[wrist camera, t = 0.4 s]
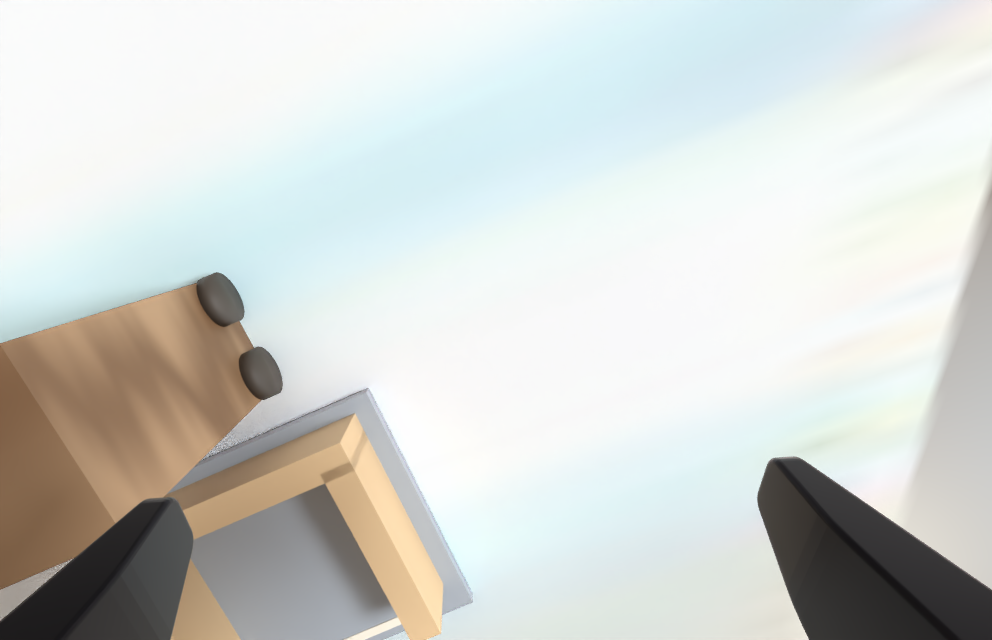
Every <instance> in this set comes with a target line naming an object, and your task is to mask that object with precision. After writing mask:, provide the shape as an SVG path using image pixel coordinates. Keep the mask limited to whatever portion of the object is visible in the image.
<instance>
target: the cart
mask: <svg viewBox="0 0 992 640" xmlns="http://www.w3.org/2000/svg"><path fill="white" fill-rule="evenodd" d="M243 317H244V306H243V303H242V300H241V297H240V295H239V293H238V291H237V290H236V288H235V286H234V285H233V284H232V283H231V281H230V280H229V279H228V278H227V277H226V276H224V275H223V274H221V273H217V272H216V273H213V274H211V275H209V276H207V277H204V278H202V279H200V280H199V281H198V282H197V283H195V284H192V285H189V286H186V287H182V288H179V289H176V290H173V291H169V292H166V293H163V294H160V295H156V296H153V297H150V298H147V299H143V300H140V301H137V302H134V303H130V304H127V305H124V306H121V307H117V308H114V309H111V310H108V311H104V312H101V313H98V314H95V315H91V316H88V317H85V318H82V319H78V320H75V321H72V322H69V323H65V324H62V325H59V326H56V327H52V328H49V329H46V330H43V331H39V332H36V333H33V334H30V335H26V336H23V337H20V338H17V339H13V340H10V341H7V342H4V343H0V590H1V589H3V588H5V587H8V586H10V585H12V584H15V583H17V582H19V581H21V580H24V579H26V578H28V577H31V576H33V575H35V574H38V573H40V572H42V571H45V570H47V569H49V568H52V567H54V566H56V565H59V564H61V563H63V562H66V561H68V560H70V559H72V558H75V557H76V556H77V555H79V554H80V553H81V552H82V551H83V550H85V549H86V548H87V547H88V546H89V545H90V544H92V543H93V542H94V541H95V540H96V539H98V538H99V537H100V536H101V535H102V534H103V533H105V532H106V531H107V530H108V529H109V528H110V527H112V526H113V525H114V524H115V523H116V522H118V521H119V520H120V519H121V518H122V517H123V516H125V515H126V514H127V513H128V512H129V511H130V510H132V509H133V508H134V507H135V506H136V505H138V504H139V503H140V502H142V501H143V500H145V499H149V498H162V497H164V496H165V495H166V494H167V493H168V492H169V491H170V490H171V489H172V488H173V487H174V486H175V485H176V484H177V483H178V482H179V481H180V480H181V479H182V478H183V477H184V476H185V475H186V474H187V473H188V472H189V471H190V470H191V469H192V468H193V467H194V466H195V465H196V464H197V463H198V462H199V461H200V460H201V459H202V458H203V457H204V456H205V455H206V454H208V453H209V452H210V451H211V450H212V449H213V448H214V447H215V446H216V445H217V444H218V443H219V442H220V441H221V440H222V439H223V438H224V437H225V436H226V435H227V434H228V433H229V432H230V431H231V430H232V429H233V428H234V427H235V426H236V425H237V424H238V423H239V422H240V421H241V420H242V419H243V418H244V417H245V416H246V415H247V414H248V413H249V412H250V411H251V410H252V409H253V408H254V407H255V406H256V405H257V404H258V403H259V402H260V401H261V400H265V399H267V398H270V397H272V396H274V395H276V394H279V393H280V392H281V391H282V386H283V383H282V377H281V373H280V370H279V368H278V366H277V364H276V362H275V360H274V359H273V357H272V356H271V355H270V353H269V352H268V351H266V350H265V349H264V348H262V347H256V348H254V347H253V345H252V344H251V342H250V340H249V338H248V336H247V334H246V333H245V331H244V329H243V327H242V325H241V323H240V320H242V319H243Z"/></svg>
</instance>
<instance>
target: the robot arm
mask: <svg viewBox="0 0 992 640" xmlns="http://www.w3.org/2000/svg"><path fill="white" fill-rule="evenodd" d="M757 500H758V507H759V510H760V513H761V516H762V519H763V522H764V525H765V528H766V530H767V533H768V536H769V539H770V542H771V545H772V548H773V550H774V553H775V556H776V559H777V562H778V565H779V567H780V570H781V573H782V576H783V579H784V582H785V585H786V587H787V590H788V593H789V595H790V598H791V601H792V603H793V606H794V608H795V610H796V612H797V615H798V617H799V619H800V621H801V623H802V626H803V628H804V630H805V632H806V634H807V636H808V638H809V640H992V590H991V589H990V588H988V587H987V586H986V585H984V584H983V583H981V582H980V581H978V580H977V579H975V578H974V577H972V576H971V575H970V574H968V573H967V572H965V571H964V570H962V569H961V568H959V567H958V566H957V565H955V564H953V563H952V562H951V561H949V560H948V559H946V558H945V557H943V556H942V555H941V554H939V553H938V552H936V551H935V550H933V549H932V548H930V547H929V546H928V545H926V544H925V543H923V542H922V541H920V540H919V539H917V538H916V537H914V536H913V535H912V534H910V533H909V532H907V531H906V530H904V529H903V528H901V527H900V526H899V525H897V524H896V523H894V522H893V521H891V520H890V519H888V518H887V517H885V516H884V515H883V514H881V513H880V512H878V511H877V510H875V509H874V508H872V507H871V506H869V505H868V504H867V503H865V502H864V501H862V500H861V499H859V498H858V497H856V496H855V495H854V494H852V493H851V492H849V491H848V490H846V489H845V488H843V487H842V486H840V485H839V484H838V483H836V482H835V481H833V480H832V479H830V478H829V477H827V476H826V475H825V474H823V473H822V472H820V471H819V470H817V469H816V468H814V467H813V466H811V465H810V464H809V463H807V462H806V461H804V460H802V459H801V458H798V457H779V458H772V459H771V460H770V461H769V462H768V464H767V467H766V470H765V473H764V476H763V479H762V482H761V485H760V488H759V491H758V497H757ZM193 542H194V539H193V532H192V529H191V527H190V525H189V523H188V521H187V519H186V516H185V514H184V512H183V510H182V508H181V506H180V504H179V502H178V500H176V499H175V498H173V497H162V498H149V499H145V500H143V501H142V502H140V503H139V504H138V505H136V506H135V507H134V508H133V509H132V510H130V511H129V512H128V513H127V514H126V515H125V516H123V517H122V518H121V519H120V520H119V521H118V522H116V523H115V524H114V525H113V526H112V527H110V528H109V529H108V530H107V531H106V532H105V533H103V534H102V535H101V536H100V537H99V538H98V539H96V540H95V541H94V542H93V543H92V544H90V545H89V546H88V547H87V548H86V549H85V550H83V551H82V552H81V553H80V554H79V555H77V556H76V557H75V558H74V559H73V560H72V561H70V562H69V563H68V564H67V565H66V566H65V567H63V568H62V569H61V570H60V571H59V572H57V573H56V574H55V575H54V576H53V577H52V578H50V579H49V580H48V581H47V582H46V583H45V584H43V585H42V586H41V587H40V588H39V589H37V590H36V591H35V592H34V593H33V594H32V595H30V596H29V597H28V598H27V599H26V600H25V601H23V602H22V603H21V604H20V605H19V606H17V607H16V608H15V609H14V610H13V611H12V612H10V613H9V614H8V615H7V616H6V617H4V618H3V619H2V620H1V621H0V640H171V636H172V632H173V628H174V624H175V620H176V616H177V612H178V608H179V603H180V599H181V595H182V591H183V587H184V583H185V579H186V574H187V570H188V566H189V562H190V558H191V554H192V549H193Z"/></svg>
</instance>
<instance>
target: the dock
mask: <svg viewBox="0 0 992 640" xmlns="http://www.w3.org/2000/svg"><path fill="white" fill-rule="evenodd" d="M164 497H173V498H175V499H176V500H178V502H179V504H180V506H181V508H182V510H183V512H184V514H185V516H186V519H187V521H188V523H189V525H190V527H191V529H192V532H193V539H194V542H193V549H192V554H191V558H190V562H189V566H188V570H187V574H186V579H185V583H184V587H183V591H182V595H181V599H180V603H179V608H178V612H177V616H176V620H175V624H174V628H173V632H172V636H171V640H384V639H386V638H388V637H391V636H393V635H396V634H398V633H400V632H403V631H406V633H407V635H408V637H409V639H410V640H426V639H429V638H431V637H434V636H436V635H438V634H441V622H442V615H443V614H446V613H448V612H450V611H453V610H455V609H457V608H460V607H462V606H465V605H467V604H469V603H472V602H473V598H472V592H471V590H470V588H469V586H468V584H467V582H466V580H465V578H464V576H463V574H462V572H461V570H460V568H459V566H458V564H457V562H456V560H455V558H454V556H453V554H452V552H451V550H450V548H449V546H448V544H447V542H446V540H445V538H444V536H443V534H442V532H441V530H440V528H439V526H438V524H437V522H436V520H435V518H434V516H433V514H432V512H431V510H430V508H429V507H428V505H427V503H426V501H425V499H424V497H423V495H422V493H421V491H420V489H419V487H418V485H417V483H416V481H415V479H414V477H413V475H412V473H411V471H410V469H409V467H408V465H407V463H406V461H405V459H404V457H403V455H402V453H401V451H400V449H399V447H398V445H397V443H396V441H395V439H394V437H393V435H392V433H391V431H390V429H389V427H388V425H387V423H386V422H385V420H384V418H383V416H382V414H381V412H380V410H379V408H378V406H377V404H376V402H375V400H374V398H373V396H372V394H371V392H370V390H369V388H368V389H365V390H363V391H361V392H358V393H356V394H354V395H351V396H349V397H347V398H344V399H342V400H340V401H338V402H335V403H333V404H331V405H328V406H326V407H324V408H321V409H319V410H317V411H314V412H312V413H310V414H308V415H305V416H303V417H301V418H298V419H296V420H294V421H291V422H289V423H287V424H284V425H282V426H280V427H278V428H275V429H273V430H271V431H268V432H266V433H264V434H261V435H259V436H257V437H255V438H252V439H250V440H248V441H245V442H243V443H241V444H238V445H236V446H234V447H231V448H229V449H227V450H225V451H222V452H220V453H218V454H215V455H213V456H211V457H208V458H206V459H204V460H201V461H199V462H198V463H197V464H196V465H195V466H194V467H193V468H192V469H191V470H190V471H189V472H188V473H187V474H186V475H185V476H184V477H183V478H182V479H181V480H180V481H179V482H178V483H177V484H176V485H175V486H174V487H173V488H172V489H171V490H170V491H169V492H168V493H167V494H166V495H165V496H164Z"/></svg>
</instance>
